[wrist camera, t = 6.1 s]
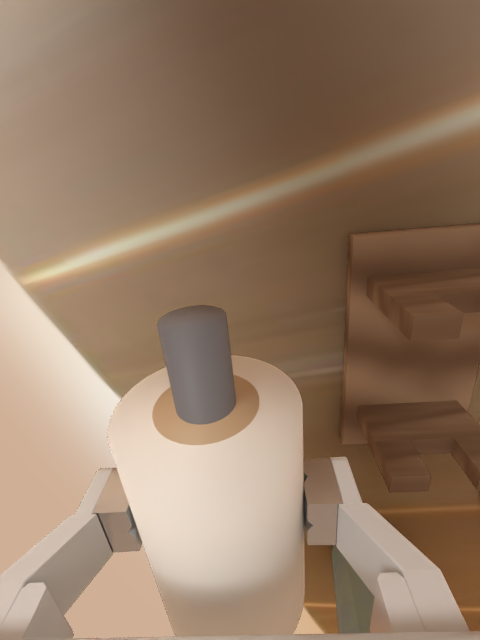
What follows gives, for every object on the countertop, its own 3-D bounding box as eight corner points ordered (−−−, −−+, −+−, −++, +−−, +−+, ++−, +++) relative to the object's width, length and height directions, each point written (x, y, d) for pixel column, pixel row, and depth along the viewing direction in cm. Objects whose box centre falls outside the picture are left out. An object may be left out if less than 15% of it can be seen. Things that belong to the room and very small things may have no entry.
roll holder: (349, 233, 23) (397, 263, 15) (502, 221, 22) (628, 245, 15) (340, 436, 30) (369, 521, 22) (454, 431, 29) (523, 517, 22)
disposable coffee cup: (293, 542, 36) (319, 769, 22) (370, 492, 33) (457, 724, 19) (357, 583, 39) (415, 807, 25) (435, 540, 35) (553, 774, 22)
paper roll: (219, 272, 11) (54, 322, 8) (350, 314, 7) (125, 429, 4) (250, 526, 16) (157, 604, 14) (333, 624, 13) (226, 757, 10)
